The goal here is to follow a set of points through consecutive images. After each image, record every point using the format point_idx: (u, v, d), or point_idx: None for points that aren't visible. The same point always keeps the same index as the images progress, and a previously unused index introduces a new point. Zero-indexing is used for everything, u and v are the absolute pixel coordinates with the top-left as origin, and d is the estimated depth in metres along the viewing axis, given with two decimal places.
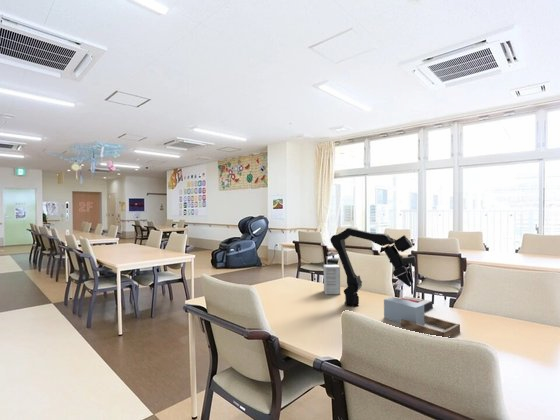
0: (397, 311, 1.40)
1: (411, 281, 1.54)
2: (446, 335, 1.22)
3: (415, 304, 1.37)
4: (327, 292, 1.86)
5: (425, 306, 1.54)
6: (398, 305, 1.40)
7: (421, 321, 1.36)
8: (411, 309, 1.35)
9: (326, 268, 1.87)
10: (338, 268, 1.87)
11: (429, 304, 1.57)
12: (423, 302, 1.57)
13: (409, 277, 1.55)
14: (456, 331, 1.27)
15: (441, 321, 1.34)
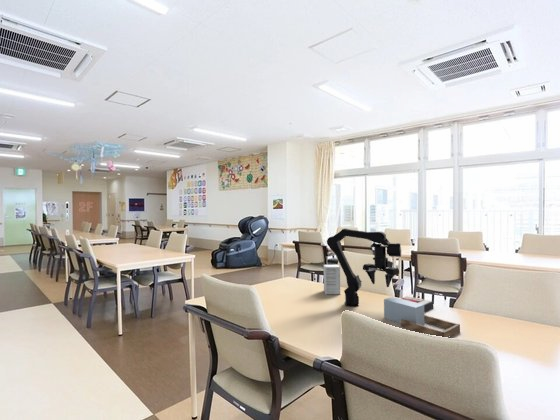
0: (397, 311, 1.40)
1: (373, 282, 1.63)
2: (446, 335, 1.22)
3: (415, 304, 1.37)
4: (327, 292, 1.86)
5: (425, 306, 1.54)
6: (398, 305, 1.40)
7: (421, 321, 1.36)
8: (411, 309, 1.35)
9: (326, 268, 1.87)
10: (338, 268, 1.87)
11: (430, 304, 1.57)
12: (424, 302, 1.57)
13: (373, 278, 1.63)
14: (456, 331, 1.27)
15: (441, 321, 1.34)
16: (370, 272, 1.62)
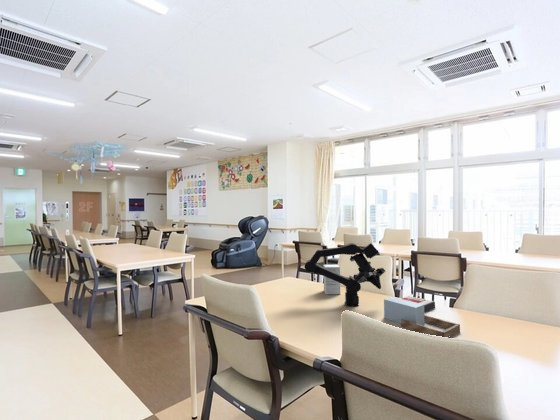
0: (397, 311, 1.40)
1: None
2: (446, 335, 1.22)
3: (415, 304, 1.37)
4: (327, 292, 1.86)
5: (426, 306, 1.54)
6: (398, 305, 1.40)
7: (421, 321, 1.36)
8: (411, 309, 1.35)
9: (326, 268, 1.87)
10: (338, 268, 1.87)
11: (431, 304, 1.57)
12: (425, 302, 1.57)
13: None
14: (456, 331, 1.27)
15: (441, 321, 1.34)
16: None
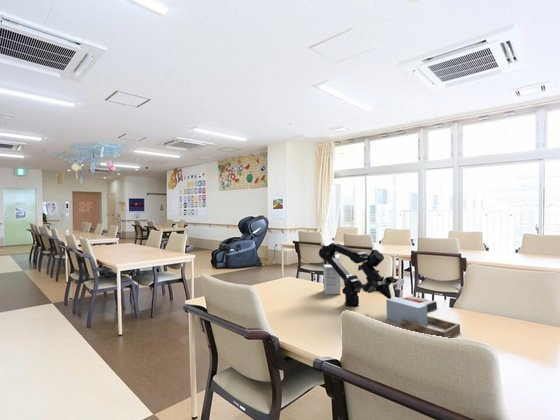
0: (399, 311, 1.39)
1: None
2: (446, 335, 1.22)
3: (418, 305, 1.36)
4: (327, 292, 1.86)
5: (427, 306, 1.54)
6: (400, 305, 1.39)
7: (424, 321, 1.35)
8: (414, 309, 1.34)
9: (326, 268, 1.87)
10: None
11: (432, 304, 1.57)
12: (426, 302, 1.57)
13: None
14: (456, 331, 1.27)
15: (441, 321, 1.34)
16: None
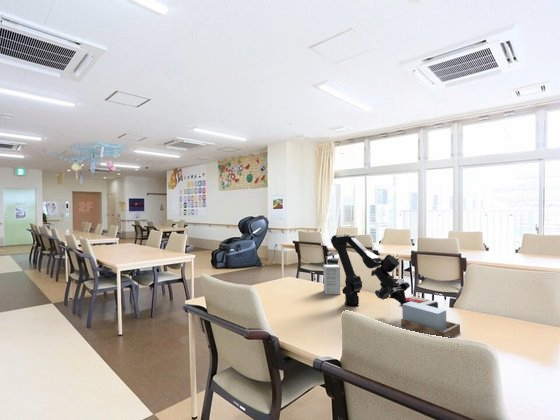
0: (416, 317, 1.33)
1: None
2: (446, 335, 1.22)
3: (436, 310, 1.29)
4: (327, 292, 1.86)
5: None
6: (418, 311, 1.32)
7: (443, 327, 1.28)
8: (432, 315, 1.27)
9: (326, 268, 1.87)
10: (338, 268, 1.86)
11: (433, 304, 1.56)
12: (427, 302, 1.57)
13: None
14: (456, 331, 1.27)
15: None
16: None
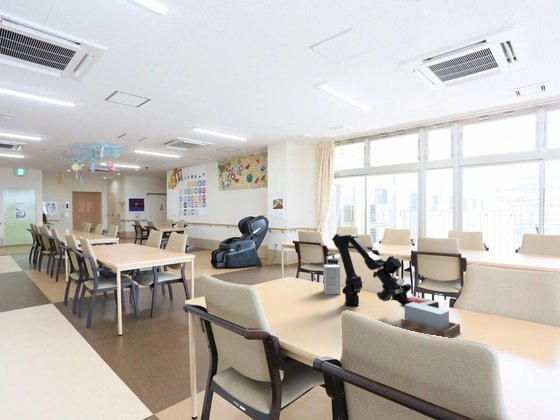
0: (419, 317, 1.32)
1: None
2: (446, 335, 1.22)
3: (439, 310, 1.29)
4: (327, 292, 1.86)
5: None
6: (420, 311, 1.31)
7: (445, 328, 1.27)
8: (435, 316, 1.26)
9: (326, 268, 1.87)
10: (338, 268, 1.86)
11: (434, 304, 1.56)
12: (428, 302, 1.57)
13: None
14: (456, 331, 1.27)
15: None
16: None
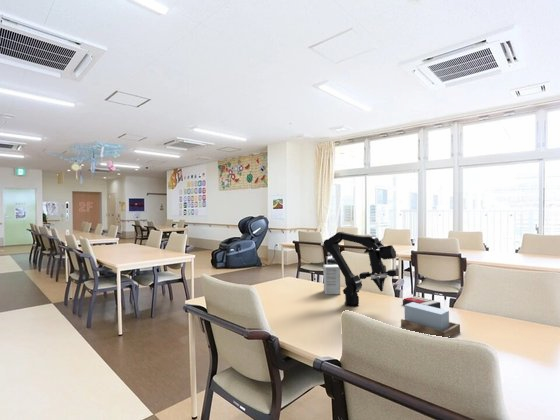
0: (419, 317, 1.32)
1: None
2: (446, 335, 1.22)
3: (439, 310, 1.29)
4: (327, 292, 1.86)
5: None
6: (420, 311, 1.31)
7: (446, 328, 1.27)
8: (435, 315, 1.26)
9: (326, 268, 1.87)
10: (338, 268, 1.86)
11: (435, 305, 1.56)
12: (429, 302, 1.57)
13: None
14: (456, 331, 1.27)
15: None
16: (376, 279, 1.55)
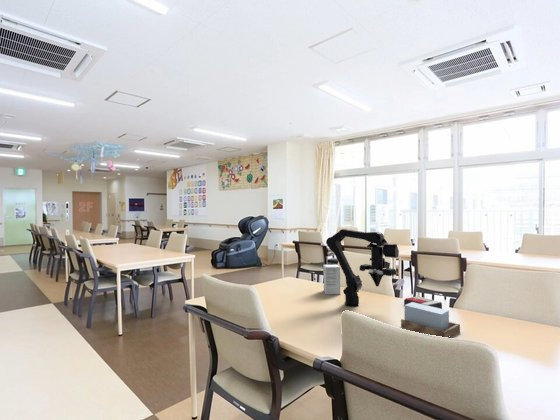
0: (419, 317, 1.32)
1: None
2: (446, 335, 1.22)
3: (439, 310, 1.29)
4: (327, 292, 1.86)
5: (431, 306, 1.54)
6: (421, 311, 1.31)
7: (446, 328, 1.27)
8: (436, 315, 1.26)
9: (326, 268, 1.87)
10: (338, 268, 1.86)
11: (437, 305, 1.56)
12: (430, 302, 1.57)
13: None
14: (456, 331, 1.27)
15: None
16: (373, 274, 1.57)
